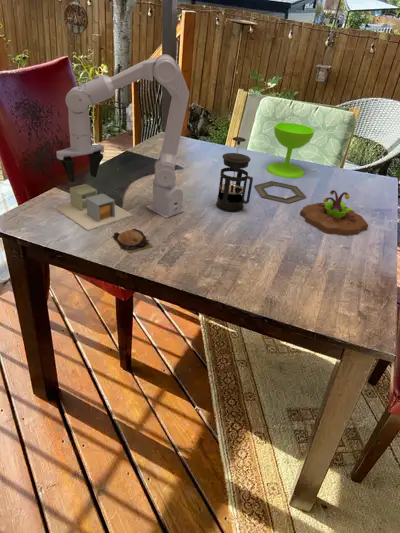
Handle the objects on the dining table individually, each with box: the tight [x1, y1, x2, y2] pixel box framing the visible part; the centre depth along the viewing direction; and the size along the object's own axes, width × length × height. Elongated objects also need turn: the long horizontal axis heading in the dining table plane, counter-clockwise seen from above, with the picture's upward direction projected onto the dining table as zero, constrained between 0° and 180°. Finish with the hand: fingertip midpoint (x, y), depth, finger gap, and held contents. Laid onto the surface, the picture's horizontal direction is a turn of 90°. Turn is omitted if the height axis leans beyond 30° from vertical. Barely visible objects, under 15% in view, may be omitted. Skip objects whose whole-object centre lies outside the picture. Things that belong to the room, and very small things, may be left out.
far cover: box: [69, 183, 98, 211], centre depth 124 cm, size 6×6×6 cm
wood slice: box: [112, 228, 153, 254], centre depth 110 cm, size 11×9×4 cm
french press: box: [215, 136, 254, 213], centre depth 129 cm, size 12×9×23 cm
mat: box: [54, 198, 133, 232], centre depth 123 cm, size 18×16×1 cm
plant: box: [299, 189, 369, 236], centre depth 130 cm, size 20×20×11 cm
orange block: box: [99, 203, 111, 220], centre depth 120 cm, size 4×4×4 cm
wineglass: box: [266, 122, 315, 179], centre depth 165 cm, size 16×16×18 cm
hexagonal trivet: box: [253, 180, 307, 205], centre depth 150 cm, size 17×20×1 cm
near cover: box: [85, 193, 116, 222], centre depth 119 cm, size 6×6×6 cm
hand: (82, 178), depth 121 cm, fingers open, 7 cm apart
